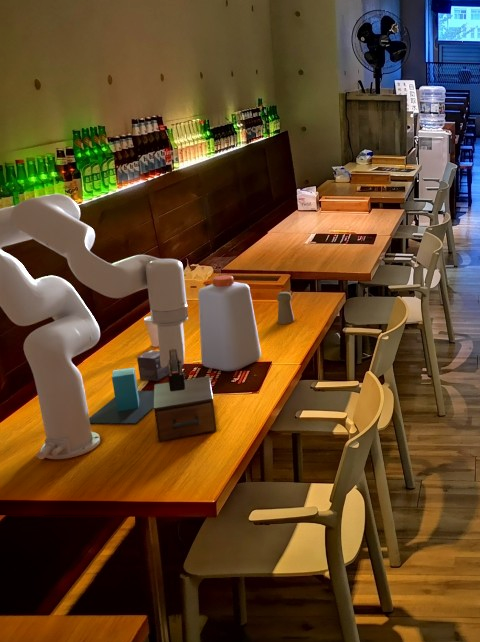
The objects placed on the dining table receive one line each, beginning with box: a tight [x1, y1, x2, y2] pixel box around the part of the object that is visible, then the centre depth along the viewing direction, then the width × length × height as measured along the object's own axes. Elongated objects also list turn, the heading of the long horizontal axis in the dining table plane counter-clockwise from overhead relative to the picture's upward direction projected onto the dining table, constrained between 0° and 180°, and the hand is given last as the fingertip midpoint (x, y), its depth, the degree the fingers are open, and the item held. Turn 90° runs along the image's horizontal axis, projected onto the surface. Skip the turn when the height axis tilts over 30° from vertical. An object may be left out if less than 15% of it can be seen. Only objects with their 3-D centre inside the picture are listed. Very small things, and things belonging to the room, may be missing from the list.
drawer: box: [157, 402, 214, 440], centre depth 185 cm, size 19×12×7 cm, turn 24°
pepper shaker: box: [276, 291, 295, 325], centre depth 267 cm, size 6×6×11 cm
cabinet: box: [153, 375, 218, 442], centre depth 189 cm, size 16×14×9 cm
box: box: [136, 350, 169, 382], centre depth 218 cm, size 6×6×7 cm
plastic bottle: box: [198, 274, 262, 372], centre depth 227 cm, size 15×15×28 cm
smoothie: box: [143, 315, 159, 348], centre depth 244 cm, size 6×6×14 cm
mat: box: [89, 390, 154, 426], centre depth 199 cm, size 20×14×1 cm
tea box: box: [111, 366, 139, 411], centre depth 198 cm, size 5×5×10 cm
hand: (177, 389), depth 168 cm, fingers closed
